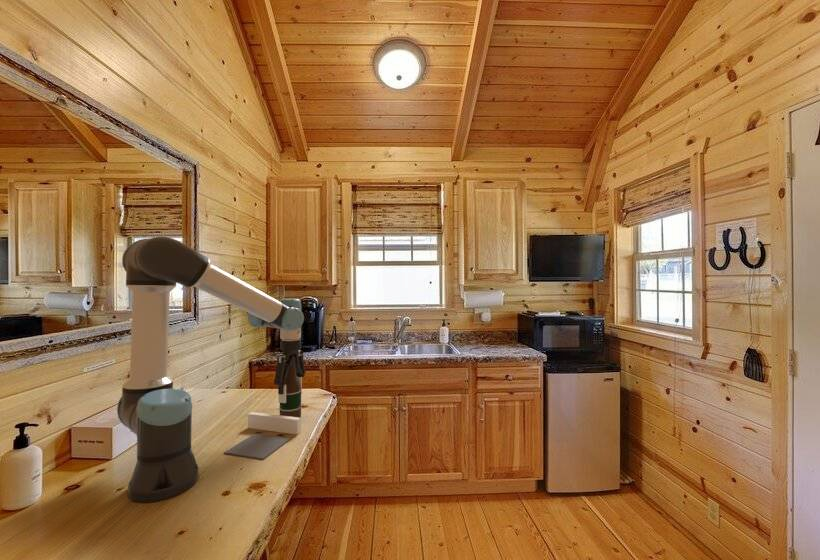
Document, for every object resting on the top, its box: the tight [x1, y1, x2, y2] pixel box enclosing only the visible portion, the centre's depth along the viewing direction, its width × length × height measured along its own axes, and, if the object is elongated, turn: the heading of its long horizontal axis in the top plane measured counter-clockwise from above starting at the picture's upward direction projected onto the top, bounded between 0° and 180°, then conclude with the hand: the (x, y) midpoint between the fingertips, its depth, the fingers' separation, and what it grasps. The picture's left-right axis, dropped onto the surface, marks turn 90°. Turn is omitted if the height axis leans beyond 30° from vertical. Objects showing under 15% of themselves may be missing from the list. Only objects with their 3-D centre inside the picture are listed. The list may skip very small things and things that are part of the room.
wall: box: [247, 411, 302, 435], centre depth 127 cm, size 2×20×5 cm, turn 75°
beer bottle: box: [279, 356, 302, 419], centre depth 137 cm, size 8×8×24 cm
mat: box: [223, 432, 292, 461], centre depth 115 cm, size 14×14×1 cm
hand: (290, 397), depth 137 cm, fingers open, 10 cm apart
